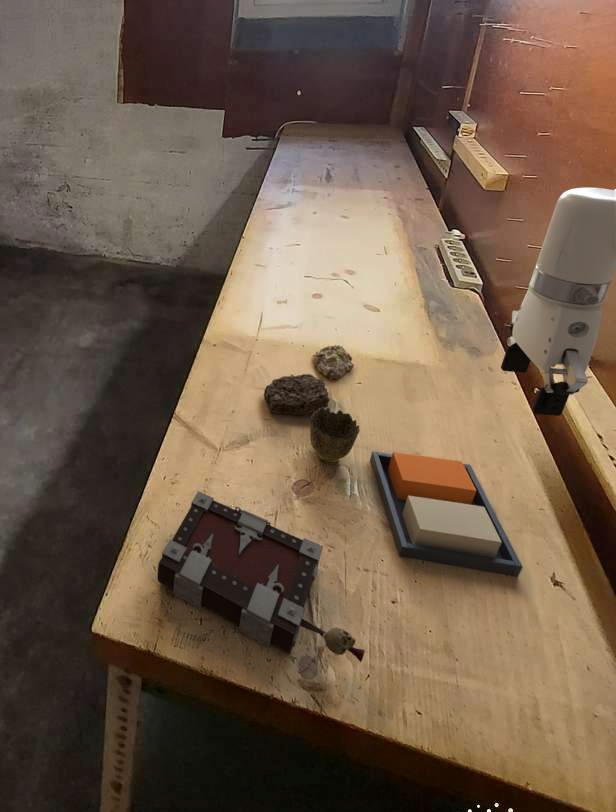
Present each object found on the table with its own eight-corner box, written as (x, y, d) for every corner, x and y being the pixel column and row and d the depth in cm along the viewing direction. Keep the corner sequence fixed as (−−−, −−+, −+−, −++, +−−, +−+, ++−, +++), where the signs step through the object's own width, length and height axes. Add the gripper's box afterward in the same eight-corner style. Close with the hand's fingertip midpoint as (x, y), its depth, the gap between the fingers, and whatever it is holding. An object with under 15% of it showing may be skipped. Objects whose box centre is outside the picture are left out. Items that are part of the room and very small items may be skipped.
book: (196, 511, 87) (198, 488, 85) (373, 593, 75) (381, 568, 72) (154, 586, 76) (155, 562, 74) (353, 697, 64) (361, 671, 62)
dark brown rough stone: (323, 392, 112) (328, 371, 110) (327, 425, 103) (332, 404, 101) (263, 382, 115) (266, 362, 113) (262, 414, 107) (266, 393, 104)
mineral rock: (314, 339, 125) (354, 339, 120) (317, 356, 126) (356, 356, 122) (307, 366, 116) (349, 368, 112) (310, 384, 118) (352, 386, 113)
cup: (351, 449, 98) (360, 413, 94) (350, 479, 92) (359, 442, 88) (305, 438, 101) (312, 402, 97) (302, 466, 95) (309, 430, 91)
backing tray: (465, 476, 92) (470, 464, 91) (516, 579, 76) (522, 567, 75) (368, 462, 95) (372, 451, 94) (398, 559, 79) (402, 546, 78)
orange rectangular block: (455, 479, 90) (462, 461, 89) (469, 509, 85) (476, 490, 84) (387, 470, 93) (392, 451, 91) (397, 498, 88) (402, 479, 86)
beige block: (476, 525, 83) (484, 506, 81) (493, 561, 77) (501, 542, 76) (401, 514, 85) (408, 495, 83) (413, 548, 80) (420, 529, 78)
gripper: (647, 320, 64) (594, 436, 71) (566, 258, 79) (530, 358, 86) (570, 316, 66) (526, 429, 73) (505, 255, 81) (474, 354, 88)
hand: (528, 391), depth 80 cm, fingers open, 9 cm apart
